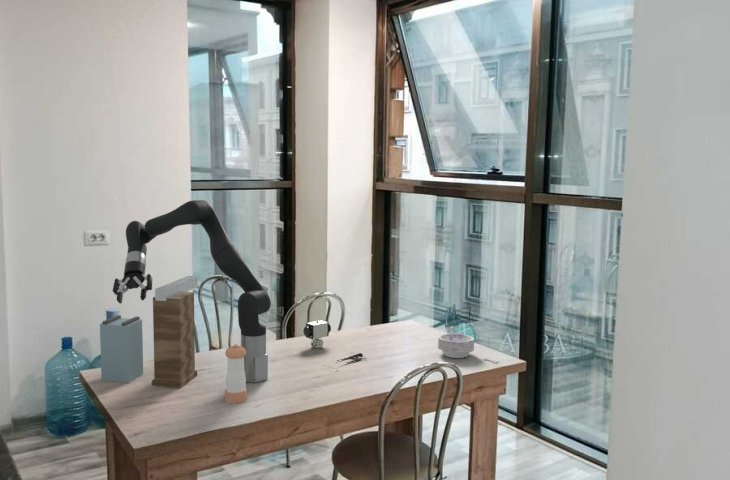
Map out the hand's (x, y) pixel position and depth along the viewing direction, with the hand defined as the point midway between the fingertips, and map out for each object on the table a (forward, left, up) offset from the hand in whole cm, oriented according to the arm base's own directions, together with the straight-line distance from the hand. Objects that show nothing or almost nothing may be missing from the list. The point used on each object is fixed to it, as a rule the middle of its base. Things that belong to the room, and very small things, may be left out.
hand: (131, 300), depth 248 cm
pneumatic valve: (-27, -72, -28) cm, 82 cm away
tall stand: (-20, -5, -28) cm, 34 cm away
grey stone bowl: (-78, -104, -28) cm, 133 cm away
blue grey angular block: (-3, +6, -28) cm, 28 cm away
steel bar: (-18, -8, +4) cm, 20 cm away
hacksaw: (-52, -64, -28) cm, 87 cm away
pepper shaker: (-51, -8, -28) cm, 58 cm away
